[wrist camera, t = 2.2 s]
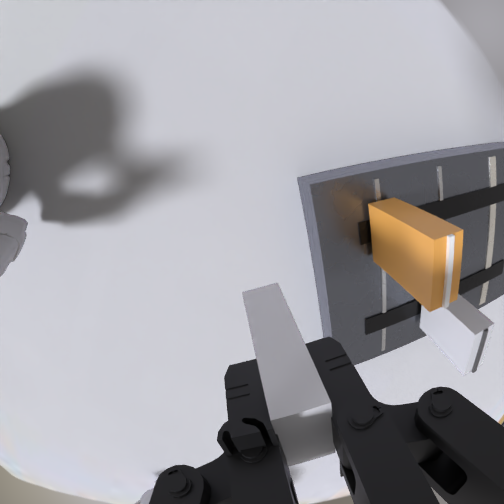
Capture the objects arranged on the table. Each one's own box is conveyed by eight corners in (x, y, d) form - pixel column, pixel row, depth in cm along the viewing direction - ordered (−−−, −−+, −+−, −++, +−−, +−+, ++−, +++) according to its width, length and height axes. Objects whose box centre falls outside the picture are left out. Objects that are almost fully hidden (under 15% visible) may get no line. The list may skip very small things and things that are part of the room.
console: (296, 177, 18) (310, 184, 16) (502, 141, 19) (523, 146, 16) (325, 351, 24) (335, 372, 21) (495, 279, 24) (511, 290, 22)
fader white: (422, 288, 19) (477, 336, 13) (441, 280, 19) (496, 325, 14) (419, 327, 21) (464, 377, 15) (437, 319, 21) (483, 366, 15)
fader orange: (368, 203, 16) (436, 241, 11) (394, 197, 16) (466, 231, 11) (373, 260, 18) (432, 314, 12) (397, 252, 18) (459, 301, 12)
